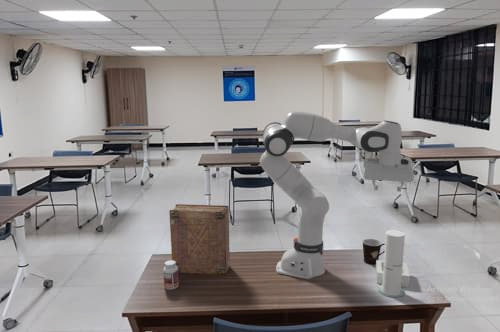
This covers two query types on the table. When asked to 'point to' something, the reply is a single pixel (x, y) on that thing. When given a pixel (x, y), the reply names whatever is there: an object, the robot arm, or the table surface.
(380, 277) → the holder
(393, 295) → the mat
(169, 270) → the pill bottle
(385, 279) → the cylindrical container
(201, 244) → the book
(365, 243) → the coffee mug
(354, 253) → the table surface
